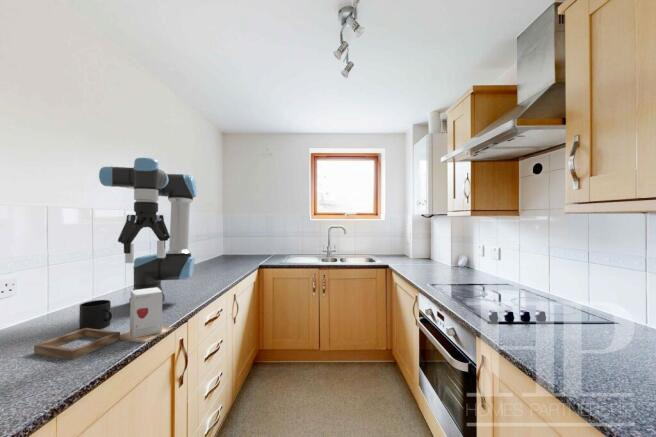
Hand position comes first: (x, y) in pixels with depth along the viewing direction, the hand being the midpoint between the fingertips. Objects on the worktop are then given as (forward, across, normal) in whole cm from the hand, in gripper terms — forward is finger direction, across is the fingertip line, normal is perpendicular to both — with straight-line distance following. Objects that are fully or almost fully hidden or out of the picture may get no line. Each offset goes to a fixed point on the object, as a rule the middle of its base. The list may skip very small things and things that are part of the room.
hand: (145, 260), depth 109 cm
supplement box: (+26, 0, 0) cm, 26 cm away
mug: (+27, -1, -23) cm, 35 cm away
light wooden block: (+27, 0, 0) cm, 27 cm away
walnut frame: (+27, +14, -12) cm, 32 cm away
